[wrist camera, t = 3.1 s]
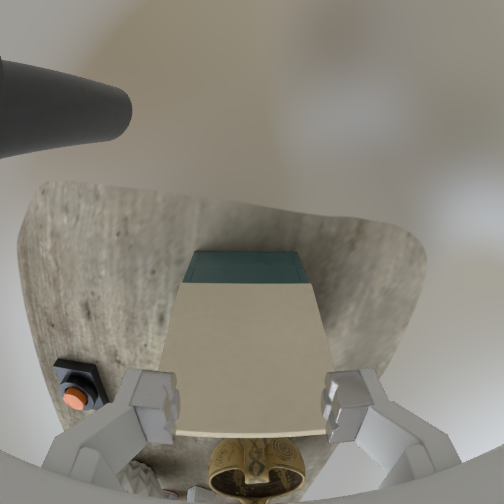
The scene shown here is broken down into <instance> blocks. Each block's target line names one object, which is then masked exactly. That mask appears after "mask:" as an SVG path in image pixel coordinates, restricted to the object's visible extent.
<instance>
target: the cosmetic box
mask: <svg viewBox="0 0 504 504" xmlns="http://www.w3.org/2000/svg"><path fill="white" fill-rule="evenodd" d="M187 502H197V503H212V504H215V492H214V491H211V490H207V489H204V488H201V487H198V486H194V487H192V488H190V489H188V494H187Z"/></svg>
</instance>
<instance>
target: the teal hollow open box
mask: <svg viewBox="0 0 504 504" xmlns="http://www.w3.org/2000/svg"><path fill="white" fill-rule="evenodd" d="M182 283H241V284H296V283H309V281H308V278H307V276H306V273H305V271H304V269H303V266H302V264H301V261H300V259H299V256H298V254H297V252H211V251H194V254H193V256H192V259H191V261H190V264H189V266H188V269H187V271H186V274H185V277H184V279H183V282H182Z"/></svg>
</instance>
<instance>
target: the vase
mask: <svg viewBox="0 0 504 504" xmlns="http://www.w3.org/2000/svg"><path fill="white" fill-rule="evenodd" d="M115 477H116V478H117V480H118V481H119V483H120V484H121V486H122V487H123V488H124V490H125V492H127V493H132V494H137V495H143V496H148V497H155V498H161V499H164V497H163V494H162V491H161V487H160V484H159V482H158V480H157V477H156V476H154V472H153V471H152V470H151V468H150V467H147V466H146V465H145V464H144V463H139V462H138V461H130V462H129V463H128V464H127V465H126V466H125V467H123V468H122V469H121V470H120V471H119V472H118V473H117V474H116V475H115Z"/></svg>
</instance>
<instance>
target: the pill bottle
mask: <svg viewBox="0 0 504 504" xmlns="http://www.w3.org/2000/svg"><path fill="white" fill-rule="evenodd" d="M161 491H162V494H163V497H164V499H169V500H177V501H178V496H177V495H176V494H175V493H173V492H170V491H165V490H161Z"/></svg>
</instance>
